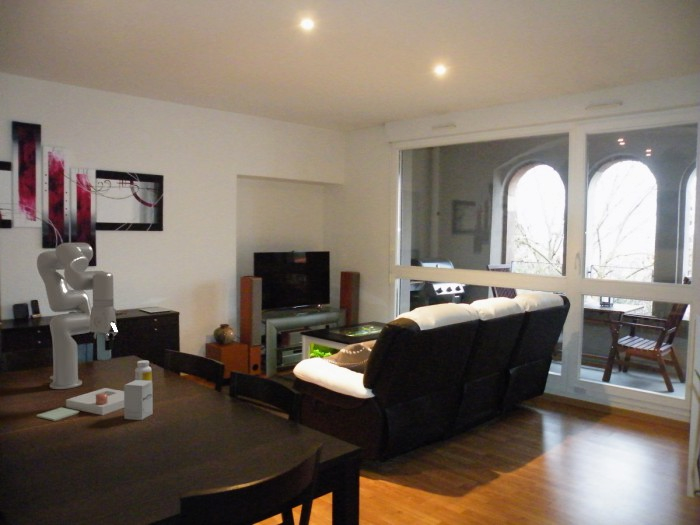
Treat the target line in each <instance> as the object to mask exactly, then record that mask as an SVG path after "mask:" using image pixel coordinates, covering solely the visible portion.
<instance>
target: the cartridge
mask: <svg viewBox="0 0 700 525" xmlns="http://www.w3.org/2000/svg"><path fill="white" fill-rule="evenodd" d="M110 331H111V330H110ZM110 331H109V332H110ZM109 335H110V334H109ZM105 340H106V336H105V333H97V349H96V355H97V356H96V358H97V359H96V360H98V361H105V360H107V361H108V360H110V359H112V350H105Z"/></svg>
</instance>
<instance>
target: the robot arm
mask: <svg viewBox="0 0 700 525" xmlns="http://www.w3.org/2000/svg"><path fill="white" fill-rule="evenodd" d="M93 257H94V250H93V248H92V246H91V245H90V244H89V243H87V242H63V243H60V244H59V245H57V246H56V248H55V250H48V251H44V252H41V253H39V255H38V256H37V258H36V268H37V271H38V274H39V276H40V277H41V280H42V281H43V283H44V286H45V292H46V296H47V300H48V306H49V309H50V310H51V311H52V312H54V313H60V314H57V315H55V316H53V317H51V319H50V321H49V329H50V334H51V338H52V339H51V340H52V341H51V342H52V359H53V360H52V361H53V363H52V364H53V365H52V366H53V368H52V369H53V372H52V375H50V377H49V380H52V382H50V384H49V388H50V389H53V390H66V389H72V388H77V387H80V386H81V385H82V384H83V380H81V379H79V366H78V365H79V364H78V362H79V360H78V357H79V356H78V344H77V343H78V342H76V340H75V339H74V338H73V337H72V336H75V335H80V334H81V335H82V334H86V333H87V334H88V333H90V332H91V334H92V336H93V339H94V348H95V350H97V333H105V336H106V340H105V350H111V351H112V350H113V349H114V340H115V337H116V335H117V334H118V333H119V331H118V329H117V319H116V318H117V317H116V316H117V315H116V310H115V305H114V304H115V302H114V297H115V296H114V275H113V273H111V272H106V271H103V270H90V271H89V270H87V269H88V267H89V265H90V264H89V263H90V261H91V260H92V259H93ZM59 270H61V271H62V270H64V272H63V275H64V277H63V275H62V274H60V273H59V272H58V271H59ZM68 286H69V287H70V288H71V289H69V288H68ZM91 290H92V306H91V302H90V298H89V296H88V294H87V292H86V291H91ZM66 312H70V313H66ZM110 330H111V331H110ZM109 331H110V332H109ZM109 334H110V335H109Z"/></svg>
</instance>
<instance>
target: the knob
mask: <svg viewBox="0 0 700 525" xmlns="http://www.w3.org/2000/svg"><path fill="white" fill-rule="evenodd" d="M107 402H108V400H107V394H106V393H100V394H97V395H96V404H105V403H107Z"/></svg>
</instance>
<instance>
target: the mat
mask: <svg viewBox="0 0 700 525" xmlns="http://www.w3.org/2000/svg"><path fill="white" fill-rule="evenodd" d="M77 414H80V410H76V409H72V408H67V407H63V406H61V407H58V408H55V409H52V410H48V411H45V412H42V413H38V414H36V417H37V418H41V419H45V420H50V421H52V422H54V421H58V420H61V419H64V418H67V417H70V416H74V415H77Z"/></svg>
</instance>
